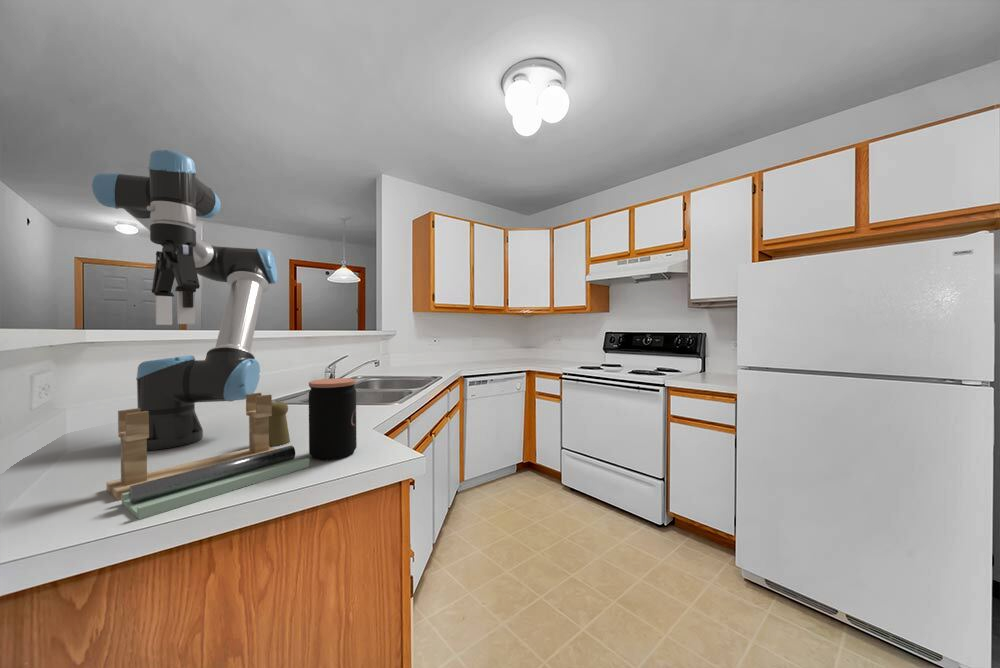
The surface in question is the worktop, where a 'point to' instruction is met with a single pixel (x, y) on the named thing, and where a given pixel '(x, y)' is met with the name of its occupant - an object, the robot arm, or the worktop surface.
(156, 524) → the worktop surface
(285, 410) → the olive green shaker
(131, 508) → the tray
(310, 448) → the coffee jar
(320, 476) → the worktop surface
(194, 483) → the rail
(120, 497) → the rail rack
